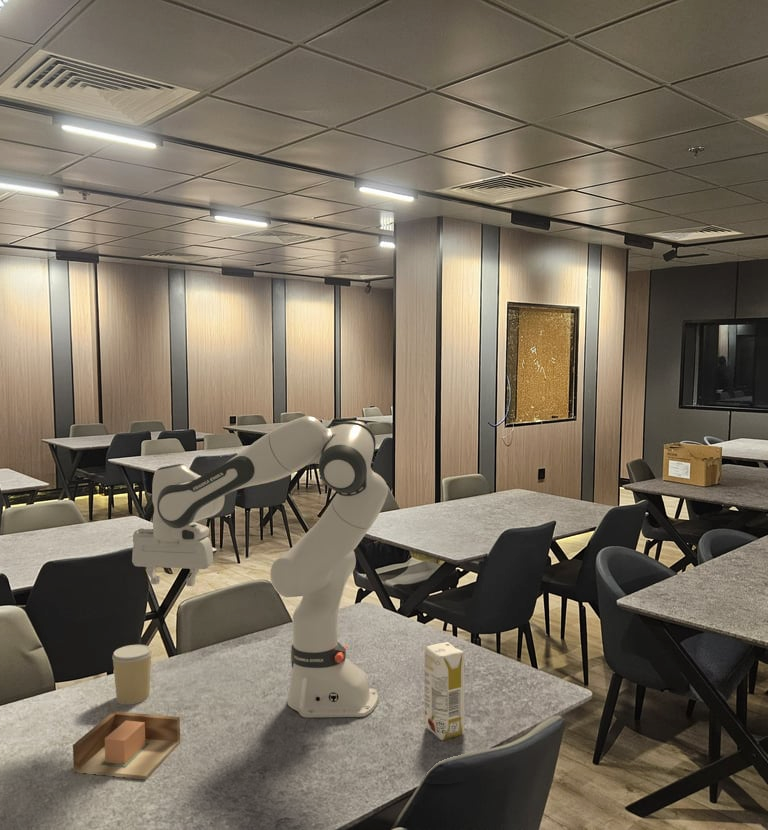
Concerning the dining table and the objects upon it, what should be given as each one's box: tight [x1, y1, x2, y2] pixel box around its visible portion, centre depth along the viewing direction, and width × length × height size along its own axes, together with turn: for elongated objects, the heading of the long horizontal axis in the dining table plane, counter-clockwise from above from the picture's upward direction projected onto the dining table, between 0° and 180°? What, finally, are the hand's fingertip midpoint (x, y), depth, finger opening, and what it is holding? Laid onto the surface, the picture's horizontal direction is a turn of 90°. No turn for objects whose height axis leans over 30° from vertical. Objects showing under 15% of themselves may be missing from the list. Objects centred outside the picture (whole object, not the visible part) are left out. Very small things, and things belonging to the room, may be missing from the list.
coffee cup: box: [111, 644, 153, 705], centre depth 182 cm, size 9×9×12 cm
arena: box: [72, 710, 181, 781], centre depth 153 cm, size 16×15×6 cm
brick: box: [105, 721, 145, 764], centre depth 153 cm, size 8×4×5 cm, turn 168°
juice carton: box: [424, 641, 466, 741], centre depth 164 cm, size 8×9×19 cm
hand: (172, 584), depth 180 cm, fingers open, 8 cm apart
